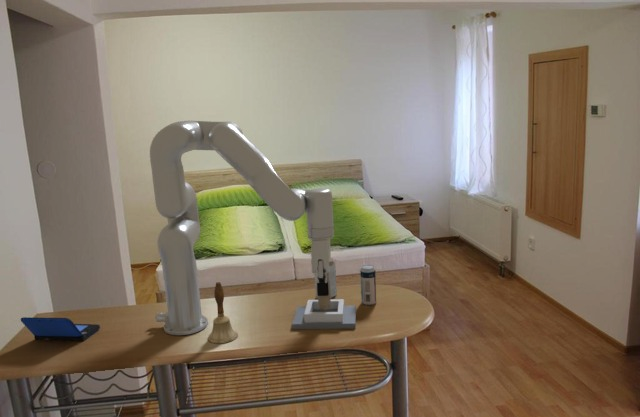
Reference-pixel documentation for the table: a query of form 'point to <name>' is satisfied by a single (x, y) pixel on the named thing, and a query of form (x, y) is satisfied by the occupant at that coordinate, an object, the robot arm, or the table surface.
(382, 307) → the table surface
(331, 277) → the skincare box
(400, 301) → the table surface
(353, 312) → the socket board
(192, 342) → the table surface
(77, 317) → the table surface
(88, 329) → the handheld game console
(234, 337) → the hand bell
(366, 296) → the beer can
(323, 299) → the handle
